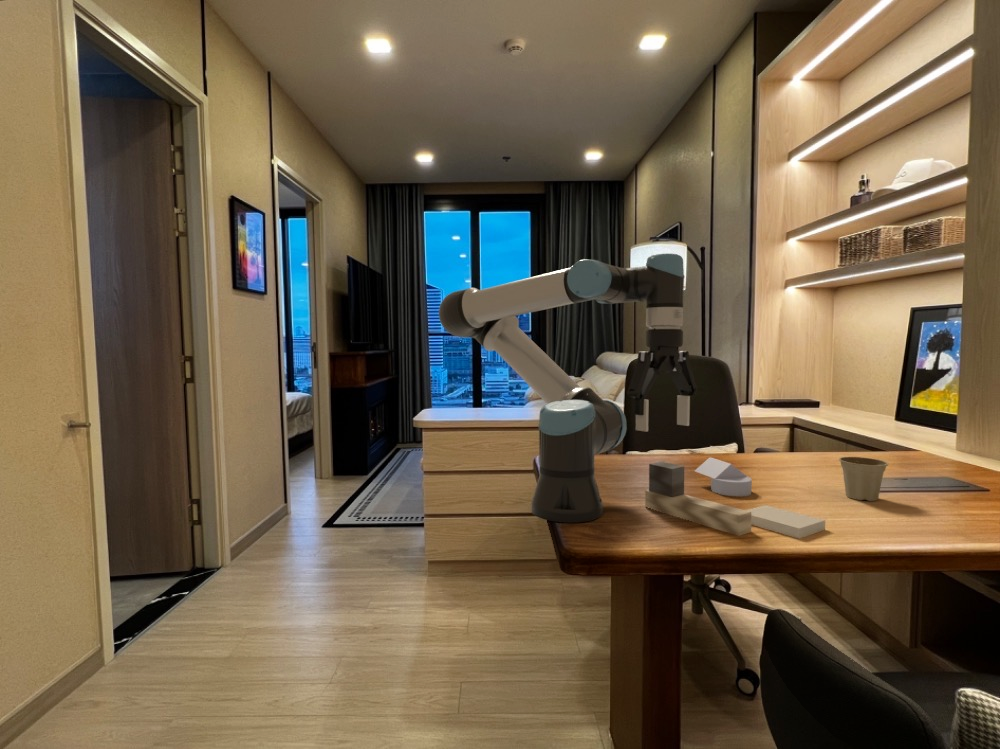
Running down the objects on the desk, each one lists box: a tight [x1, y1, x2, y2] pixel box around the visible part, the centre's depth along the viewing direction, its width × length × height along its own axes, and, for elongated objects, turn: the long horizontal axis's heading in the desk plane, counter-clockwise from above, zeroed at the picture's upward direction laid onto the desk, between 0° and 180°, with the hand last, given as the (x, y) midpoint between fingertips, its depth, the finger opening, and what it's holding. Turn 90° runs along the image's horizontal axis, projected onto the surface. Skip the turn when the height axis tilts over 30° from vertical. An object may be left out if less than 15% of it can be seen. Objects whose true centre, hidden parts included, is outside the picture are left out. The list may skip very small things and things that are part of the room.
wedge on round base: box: [694, 456, 752, 497], centre depth 132 cm, size 9×7×13 cm
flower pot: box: [838, 456, 889, 502], centre depth 124 cm, size 9×9×9 cm
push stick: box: [644, 461, 752, 537], centre depth 110 cm, size 22×4×10 cm, turn 35°
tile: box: [745, 504, 826, 539], centre depth 105 cm, size 9×2×12 cm
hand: (663, 427), depth 115 cm, fingers open, 13 cm apart
